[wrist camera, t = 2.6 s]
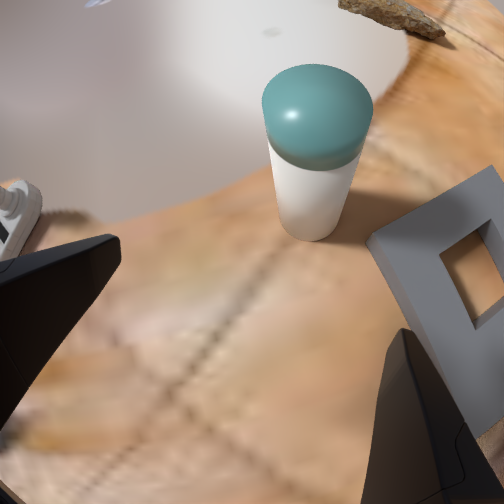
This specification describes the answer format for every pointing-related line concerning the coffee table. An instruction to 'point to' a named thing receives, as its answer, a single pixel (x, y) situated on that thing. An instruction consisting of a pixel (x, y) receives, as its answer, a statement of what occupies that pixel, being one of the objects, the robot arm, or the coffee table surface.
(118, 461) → the coffee table surface
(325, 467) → the coffee table surface
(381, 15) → the stone
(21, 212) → the electronic device
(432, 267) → the socket board
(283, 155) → the peg
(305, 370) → the coffee table surface
